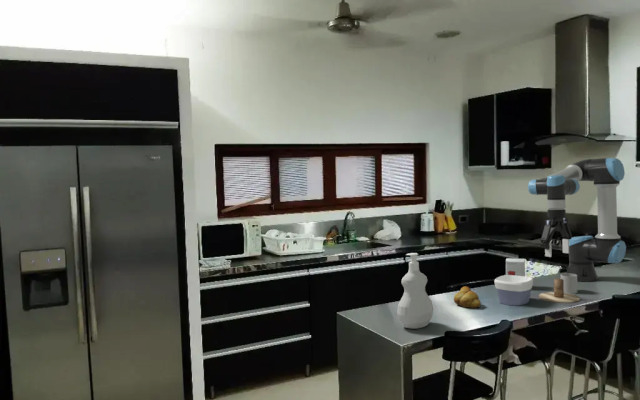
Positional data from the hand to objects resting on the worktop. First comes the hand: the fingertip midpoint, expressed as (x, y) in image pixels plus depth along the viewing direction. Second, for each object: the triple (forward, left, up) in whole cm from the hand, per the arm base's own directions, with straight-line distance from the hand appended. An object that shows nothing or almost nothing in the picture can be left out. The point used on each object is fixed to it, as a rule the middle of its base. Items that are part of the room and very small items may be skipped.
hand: (557, 254), depth 225 cm
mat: (0, 0, -21) cm, 21 cm away
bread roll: (+39, -20, -21) cm, 48 cm away
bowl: (+19, -10, -21) cm, 30 cm away
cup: (-16, -4, -21) cm, 27 cm away
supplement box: (-4, -26, -21) cm, 34 cm away
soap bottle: (+77, -13, -21) cm, 81 cm away
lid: (0, 0, -20) cm, 20 cm away
